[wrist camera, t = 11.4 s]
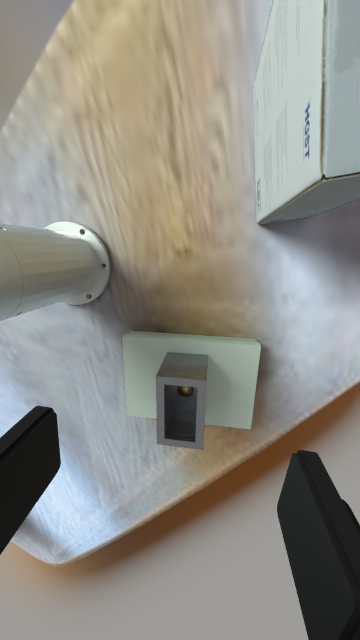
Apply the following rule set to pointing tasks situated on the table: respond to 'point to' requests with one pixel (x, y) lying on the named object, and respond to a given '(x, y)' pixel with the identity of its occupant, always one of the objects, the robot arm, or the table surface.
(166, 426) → the housing
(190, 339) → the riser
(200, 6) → the table surface
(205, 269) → the table surface
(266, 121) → the hard drive box
